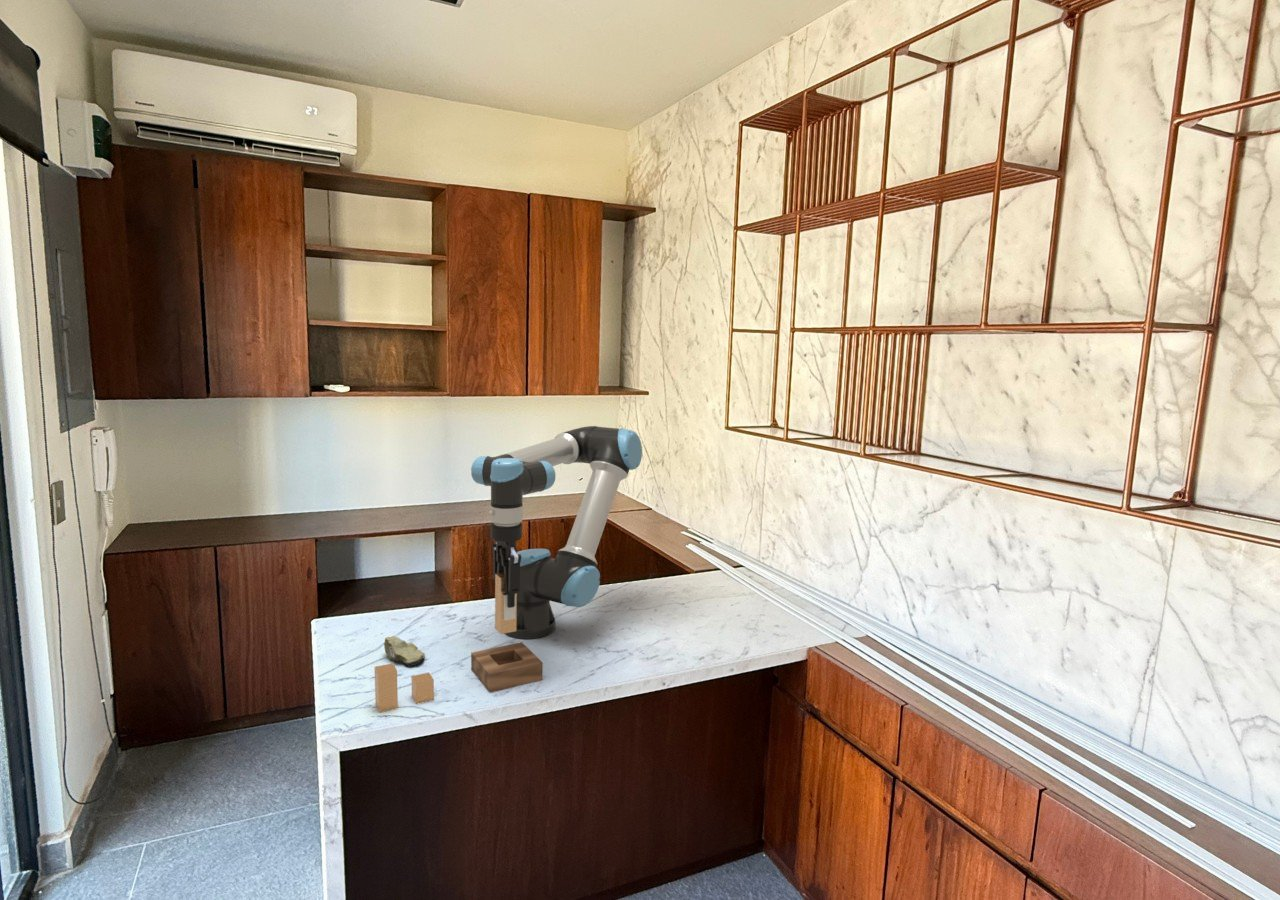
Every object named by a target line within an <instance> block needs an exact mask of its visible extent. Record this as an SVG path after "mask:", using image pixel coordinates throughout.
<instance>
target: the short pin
mask: <svg viewBox="0 0 1280 900" xmlns="http://www.w3.org/2000/svg"><path fill="white" fill-rule="evenodd" d="M434 682H435V681H434V678H433V676H432V675H431V673H430V672H424V673H420V674H416V675H412V676H411V697H412V699H413V701H414V702H415V704H416V705H418V703H419V704H422V702H423V703H426V701H427V702H431V701H434V700H435V699H434V698H435V686H434V685H435V684H434ZM430 700H431V701H430Z"/></svg>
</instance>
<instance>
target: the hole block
mask: <svg viewBox="0 0 1280 900" xmlns="http://www.w3.org/2000/svg"><path fill="white" fill-rule="evenodd" d="M470 656H471V657H470V658H471V659H470V663H471V665H470V667H471V668H470V669H471V671H472V673H473V674H474V675H475V676H476V677H477V678H478V680H479V681H480V682H481V684H482V685H483V686H484V687H485V689H486V690H487V691H488V693H493V692H497V691H500V690H506V689H509V688H514V687H518V686H523V685H527V684H530V683H534V682H538V681H543V669H544V668H543V661H542V660H541V659H540V658H539V657H538V656H537V655H536V654H535V653H533V652H532V650H531V649H529V647H527V646H526V645H525V644H524V643H523V642H522V641H520V642H516V643H511V644H506V645H500V646H497V647H492V648H487V649H482V650H476V651H473V652H470Z"/></svg>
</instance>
